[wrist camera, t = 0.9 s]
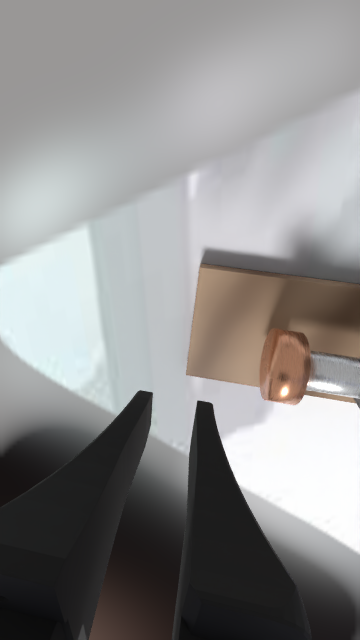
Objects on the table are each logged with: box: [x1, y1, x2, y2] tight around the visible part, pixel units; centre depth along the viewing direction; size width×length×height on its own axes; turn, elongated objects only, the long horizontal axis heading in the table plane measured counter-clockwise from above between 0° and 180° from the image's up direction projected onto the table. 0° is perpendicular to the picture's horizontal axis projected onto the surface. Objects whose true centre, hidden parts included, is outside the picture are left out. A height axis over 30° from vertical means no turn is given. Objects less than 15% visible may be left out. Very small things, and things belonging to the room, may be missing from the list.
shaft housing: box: [186, 264, 360, 408], centre depth 17 cm, size 20×9×7 cm, turn 85°
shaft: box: [259, 328, 360, 405], centre depth 16 cm, size 8×4×4 cm, turn 85°
